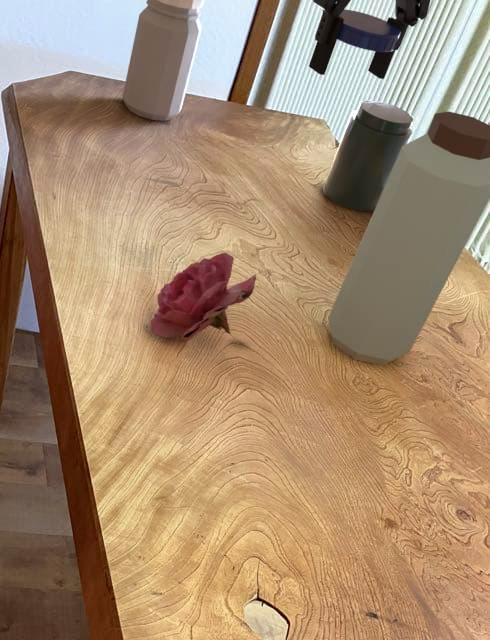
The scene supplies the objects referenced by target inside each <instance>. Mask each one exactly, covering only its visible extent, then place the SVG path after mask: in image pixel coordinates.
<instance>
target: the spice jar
mask: <svg viewBox="0 0 490 640" xmlns="http://www.w3.org/2000/svg"><path fill="white" fill-rule="evenodd" d="M413 122H414V117H413V116H412V115H411V114H410V113H409V112H407V111H406V110H404V109H402V108H400V107H398V106H396V105H393V104H390V103H387V102H383V101H378V100H372V99H371V100H369V99H368V100H366V99H365V100H362V101H360V102H359V105H358V107H357V110H354V111H352V112H351V114H350V117H349V118H348V121H347V124H346V126H345V129H344V132H343V135H342V137H341V140H340V142H339V145H338V147H337V151H336V152H335V155H334V158H333V161H332V163H331V166H330V168H329V170H328V174H327V176H326V179H325V182H324V184H323V186H322V192H323V194H324V195H325V196H326V198H328V199H329V200H331V201H332V202H334V203H336V204H337V205H340V206H341V207H345V208H347V209H351V210H354V211H359V212H374V210H375V208H376V206H377V203H378V201H379V199H380V196H381V194H382V192H383V190H384V187H385V185H386V183H387V180H388V178H389V176H390V173H391V171H392V169H393V166H394V164H395V162H396V159H397V157H398V155H399V152H400V150H401V148H402V146H404V145H406V144H407V143H409V142H410V139H411V137H412V135H413V130H412V128H411V127H412V126H413Z"/></svg>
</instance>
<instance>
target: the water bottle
mask: <svg viewBox="0 0 490 640" xmlns="http://www.w3.org/2000/svg"><path fill="white" fill-rule="evenodd" d="M489 200H490V124H488V123H486V122H484V121H481V120H480V119H478V118H476V117H474V116H469V115H466V114H461V113H457V112H453V111H442V112H437V113H434V115H433V118H432V120H431V123H430V125H429V127H428V131H427V133H425V134H423V135H421V136H419V137H418V138H415V139H413V140H412V141H409V142H408V143H407V144H406V145H404V146H402V148H401V150H400V152H399V155H398V157H397V159H396V162H395V164H394V166H393V169H392V171H391V173H390V176H389V178H388V180H387V183H386V185H385V187H384V190H383V192H382V194H381V196H380V199H379V201H378V203H377V206H376V208H375V210H374V211H373V213H372V215H371V218H370V220H369V222H368V225H367V226H366V229H365V232H364V234H363V236H362V237H361V241H360V243H359V245H358V248H357V249H356V252H355V255H354V257H353V259H352V261H351V264H350V266H349V269H348V271H347V273H346V276H345V278H344V280H343V282H342V285H341V287H340V289H339V291H338V293H337V296H336V299H335V301H334V303H333V305H332V308H331V311H330V312H329V315H328V317H327V320H328V324H329V325H328V326H329V331H330V334H331V335H330V336H331V339H332V344H333V346H335V347H336V348H338V349H339V350H340V351H342V352H343V353H345V354H346V355H347V356H349V357H350V358H352V359H353V360H355V361H360V362H364V363H367V364H368V363H369V364H374V365H378V366H384V365H387V364H390V363H391V362H394V361H396V360H398V359H400V358H402V357H404V356H406V355H407V354H409V353H410V352H411V351H412V349H413V346H414V345H415V342H416V341H417V339H418V337H419V335H420V333H421V331H422V330H423V327H424V325H425V324H426V322H427V320H428V318H429V316H430V315H431V312H432V310H433V308H434V307H435V304H436V302H437V300H438V298H439V297H440V294H441V293H442V291H443V289H444V287H445V285H446V283H447V280H449V277H450V275H451V274H452V271H453V270H454V268H455V266H456V265H457V262H458V260H459V258H460V256H461V254H462V252H463V250H464V248H465V247H466V244H467V243H468V241H469V239H470V237H471V235H472V233H473V231H474V229H475V228H476V225H477V224H478V222H479V220H480V218H481V216H482V214H483V212H484V211H485V208H486V206H487V204H488V202H489Z"/></svg>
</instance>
